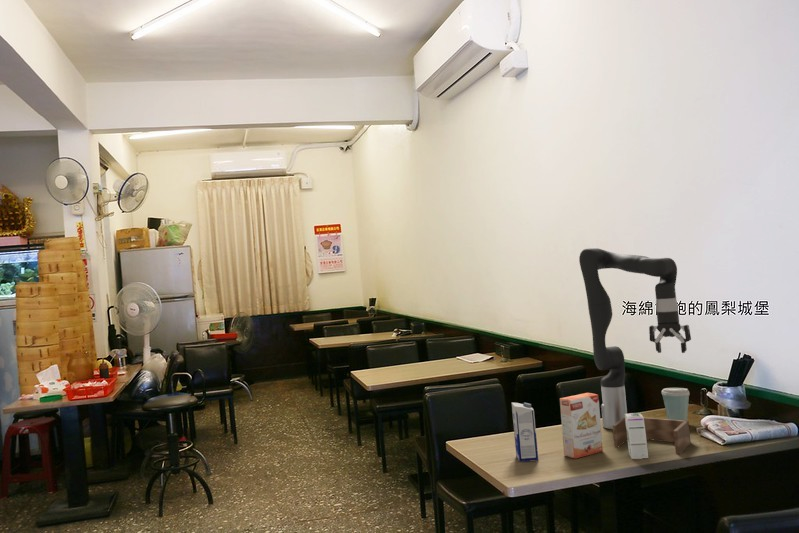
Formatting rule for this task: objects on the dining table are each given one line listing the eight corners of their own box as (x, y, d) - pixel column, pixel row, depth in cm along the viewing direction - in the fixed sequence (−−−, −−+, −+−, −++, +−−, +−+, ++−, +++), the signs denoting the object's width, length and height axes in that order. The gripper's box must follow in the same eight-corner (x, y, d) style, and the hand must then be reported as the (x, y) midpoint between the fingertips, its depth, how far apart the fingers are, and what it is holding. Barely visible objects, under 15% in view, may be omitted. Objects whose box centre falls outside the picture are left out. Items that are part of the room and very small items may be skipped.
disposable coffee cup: (660, 422, 243) (657, 386, 244) (687, 421, 242) (684, 384, 242) (668, 428, 233) (665, 391, 233) (697, 427, 231) (693, 389, 232)
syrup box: (649, 459, 199) (644, 416, 199) (630, 459, 200) (626, 417, 201) (645, 454, 204) (641, 412, 205) (628, 454, 206) (624, 413, 206)
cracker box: (575, 459, 205) (570, 400, 205) (563, 456, 210) (558, 397, 211) (604, 451, 211) (599, 393, 212) (592, 448, 216) (586, 391, 217)
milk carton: (516, 456, 214) (511, 401, 215) (534, 454, 214) (529, 400, 215) (519, 461, 207) (514, 405, 208) (538, 460, 207) (533, 404, 208)
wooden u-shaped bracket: (614, 446, 215) (612, 425, 216) (628, 436, 227) (626, 415, 227) (679, 454, 201) (677, 431, 201) (690, 442, 213) (688, 420, 213)
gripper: (689, 308, 220) (694, 351, 220) (650, 310, 229) (654, 351, 229) (684, 310, 215) (689, 354, 214) (644, 311, 224) (648, 353, 223)
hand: (671, 352), depth 221 cm, fingers open, 8 cm apart
